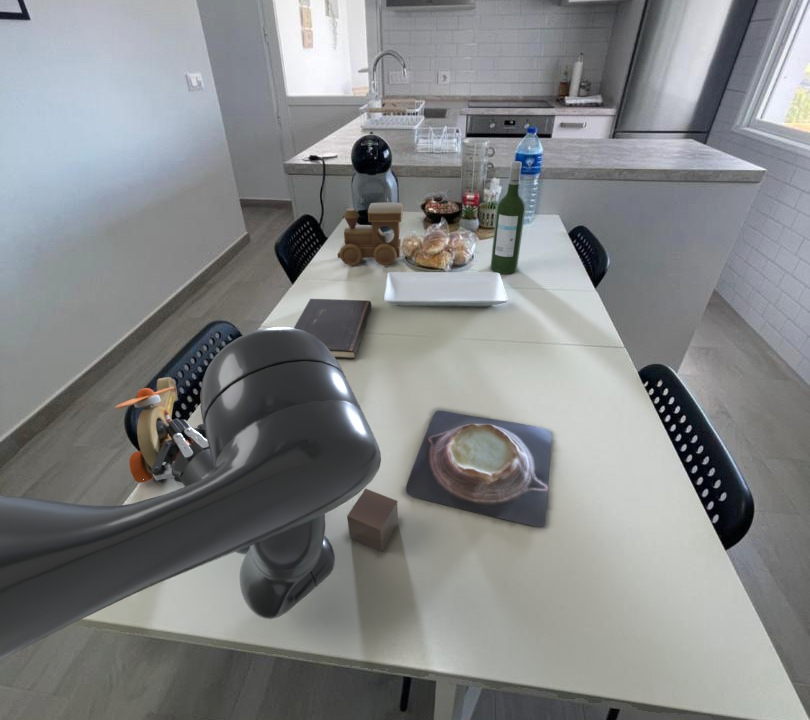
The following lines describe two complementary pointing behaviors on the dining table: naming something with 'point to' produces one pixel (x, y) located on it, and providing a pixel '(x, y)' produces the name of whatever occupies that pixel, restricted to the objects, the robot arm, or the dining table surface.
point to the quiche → (484, 467)
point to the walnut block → (373, 519)
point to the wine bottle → (508, 226)
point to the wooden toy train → (372, 235)
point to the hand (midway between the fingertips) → (174, 424)
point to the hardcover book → (336, 324)
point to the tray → (444, 289)
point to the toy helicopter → (151, 426)
